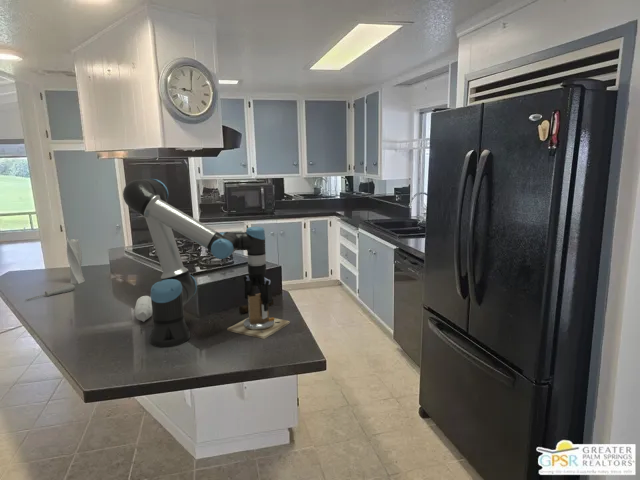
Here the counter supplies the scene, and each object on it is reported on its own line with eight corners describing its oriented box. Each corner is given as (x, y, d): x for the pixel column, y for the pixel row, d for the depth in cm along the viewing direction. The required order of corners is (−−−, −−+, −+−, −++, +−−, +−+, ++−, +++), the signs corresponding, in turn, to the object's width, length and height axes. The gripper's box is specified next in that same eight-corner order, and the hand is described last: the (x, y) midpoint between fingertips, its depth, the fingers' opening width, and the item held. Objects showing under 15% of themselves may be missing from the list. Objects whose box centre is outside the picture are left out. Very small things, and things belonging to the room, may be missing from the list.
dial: (247, 331, 175) (245, 300, 173) (241, 321, 187) (239, 291, 185) (278, 327, 180) (277, 296, 178) (270, 316, 192) (269, 287, 190)
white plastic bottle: (133, 326, 187) (131, 309, 185) (137, 312, 205) (135, 296, 203) (152, 324, 189) (150, 307, 188) (154, 310, 207) (153, 294, 205)
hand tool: (243, 315, 199) (242, 305, 198) (238, 313, 202) (238, 303, 201) (276, 306, 211) (276, 297, 211) (271, 304, 214) (271, 295, 214)
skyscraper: (67, 284, 256) (61, 237, 251) (76, 280, 263) (70, 235, 258) (78, 284, 254) (73, 238, 249) (87, 281, 262) (82, 235, 257)
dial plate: (227, 330, 180) (227, 328, 180) (255, 316, 197) (254, 313, 196) (264, 338, 171) (263, 336, 171) (289, 323, 188) (289, 320, 187)
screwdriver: (24, 304, 225) (21, 296, 225) (73, 290, 244) (71, 283, 244) (27, 303, 222) (25, 296, 222) (77, 289, 242) (75, 282, 241)
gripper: (280, 264, 177) (281, 318, 181) (246, 259, 187) (248, 310, 191) (268, 268, 171) (270, 323, 175) (234, 263, 181) (236, 315, 185)
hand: (258, 316), depth 183 cm, fingers closed on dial, 6 cm apart
